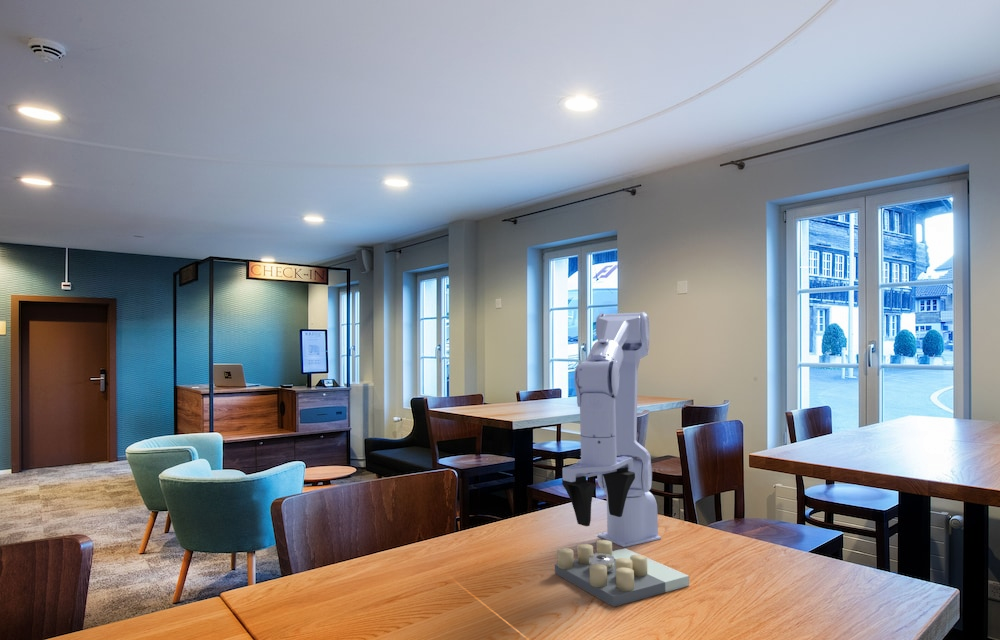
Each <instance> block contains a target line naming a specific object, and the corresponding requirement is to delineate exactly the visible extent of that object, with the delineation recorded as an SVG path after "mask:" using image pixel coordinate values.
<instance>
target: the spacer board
mask: <svg viewBox="0 0 1000 640" xmlns="http://www.w3.org/2000/svg"><path fill="white" fill-rule="evenodd" d="M596 553H606V554H610V555H612V556H613V557H614V572H613V573H611V574H607V567H606V566H605V565H602V564H593V565H590V570H589V556H590V555H591V554H594V545H592V544H588V543H583V544H582V543H581V544H577V558H576V559H574V558H575V557H574V550H573V549H572V548H567V547H563V548H558V549H557V563H555V564H554V574H555V575H557V576H558V577H561V578H562V579H564V580H566V581H568V583H569V582H570V583H571V584H573V585H574V586H576V587H578V588H580V589H582V590H584V592H586V593H589V594H591V595H592V596H594V597H595V598H596V599H597V598H598V599H599V600H601V601H603V602H604V603H606V604H608V605H610V606H611V607H613V608H616V607H618V606H622V605H626V604H629V603H633V602H635V601H639V600H643V599H646V598H650V597H654V596H657V595H661V594H664V593H668V592H671V591H675V590H678V589H682V588H685V587H689V586H690V575H688V574H687V573H686V574H685V573H684V572H681V571H679V570H677V569H674V568H673V567H670V566H667V565H665V564H662V563H661V562H658V561H656V560H653V559H651V558H649V557H647V556H646V555H643V554H640V553H637V552H634V551H633V550H630V549H627V547H623V548H620V549H617V550H613V542H611V541H608V540H606V539H600V540H597V541H596Z"/></svg>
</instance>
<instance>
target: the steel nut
mask: <svg viewBox="0 0 1000 640" xmlns="http://www.w3.org/2000/svg"><path fill="white" fill-rule="evenodd" d="M593 564H602V565H605V566H606V567H607V574H611V573H613V572H614V557H613V556H612V555H610V554H606V553H597V552H595V553H593V554H591V555H590V556H589V570H590V565H593Z"/></svg>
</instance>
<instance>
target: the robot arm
mask: <svg viewBox="0 0 1000 640" xmlns="http://www.w3.org/2000/svg"><path fill="white" fill-rule="evenodd" d="M649 319H650V318H649V316H648V314H647V313H646V311H641V312H626V313H624V312H623V313H622V312H621V313H599V315H597V317H596V321H595V335H596V339H597V341H596V342H595V343H594V344H593V345H592V347H591V349H590V351H589V353H588V356H587V358H586V360H585V361H581V363H580V364H577V365H576V367H575V370H574V388H575V392H576V393H575V394H576V403H577V407H578V408H579V420H580V421H579V422H580V423H579V424H580V427H579V428H580V429H579V431H580V459H578V460H577V463H574V464H571V465H568V466H565V467H562V478H561V485H562V486H563V488H564V490H565V492H566V493H567V494H568V497H569V499H570V502H571V504H572V508H573V511H574V514H575V515H574V516H575V519H576V522H577V523H576V524H578V525H580V526H584V527H590V526H591V521H592V520H591V519H592V514H591V513H592V502H593V495H594V493H595V490H596V489H595V488H596V486H597V484H598V486H599V487H600V489H601V490H603V493H604V494H605V495H606V524H607V525H606V527H607V528H606V530H607V531H605V532H600V533H597V537H599V538H602V540H608V541H611V542H612V544H615V545H618V546H620V547H623V548H627V547H632V546H635V545H636V546H637V545H640V544H644V543H645V544H646V543H649V542H654V541H657V540H661V539H662V537H661V535H659V525H658V524H659V522H658V520H659V519H658V504H657V500H656V498H655V496H654V495H653V493H652V492H651V491H650V490H651V489H652V482H653V467H652V459H651V458H652V457H651V454H650V452H649V450H648V449H646V448H645V447H644V446H643V445H642V444H640V443H639V442H638V440H637V438H638V436H637V435H638V433H637V429H638V428H637V427H638V418H637V417H638V374H639V373H638V371H639V365H640V361H641V359H642V358H645V357H647V356H648V355H649V350H650V321H649ZM595 476H597V478H596V479H597V484H596V483H594V482H589V480H588V479H587V478H591V477H595Z"/></svg>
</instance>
